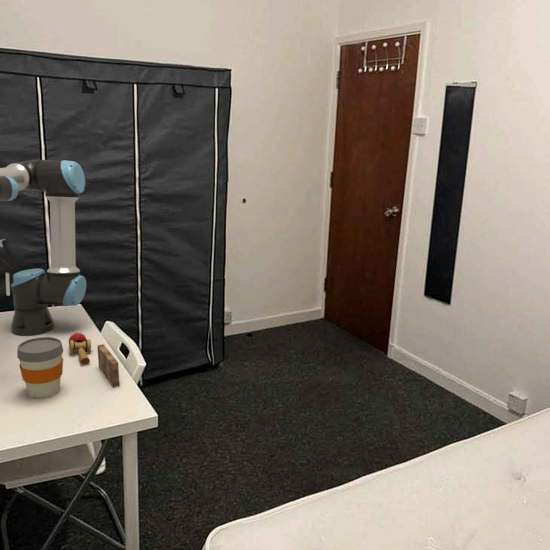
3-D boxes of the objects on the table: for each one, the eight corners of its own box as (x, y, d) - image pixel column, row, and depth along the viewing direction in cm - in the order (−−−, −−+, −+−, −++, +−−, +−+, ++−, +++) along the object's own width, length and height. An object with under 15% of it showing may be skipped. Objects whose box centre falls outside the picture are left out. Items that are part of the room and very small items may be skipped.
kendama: (99, 366, 186) (89, 340, 201) (95, 350, 183) (85, 326, 198) (76, 373, 183) (67, 347, 198) (71, 358, 180) (63, 332, 195)
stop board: (98, 367, 182) (97, 345, 180) (104, 366, 183) (103, 344, 181) (113, 387, 169) (111, 363, 167) (119, 385, 170) (118, 362, 168)
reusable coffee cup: (18, 403, 158) (13, 355, 154) (24, 383, 170) (19, 338, 166) (64, 398, 162) (60, 351, 158) (67, 379, 173) (64, 335, 169)
